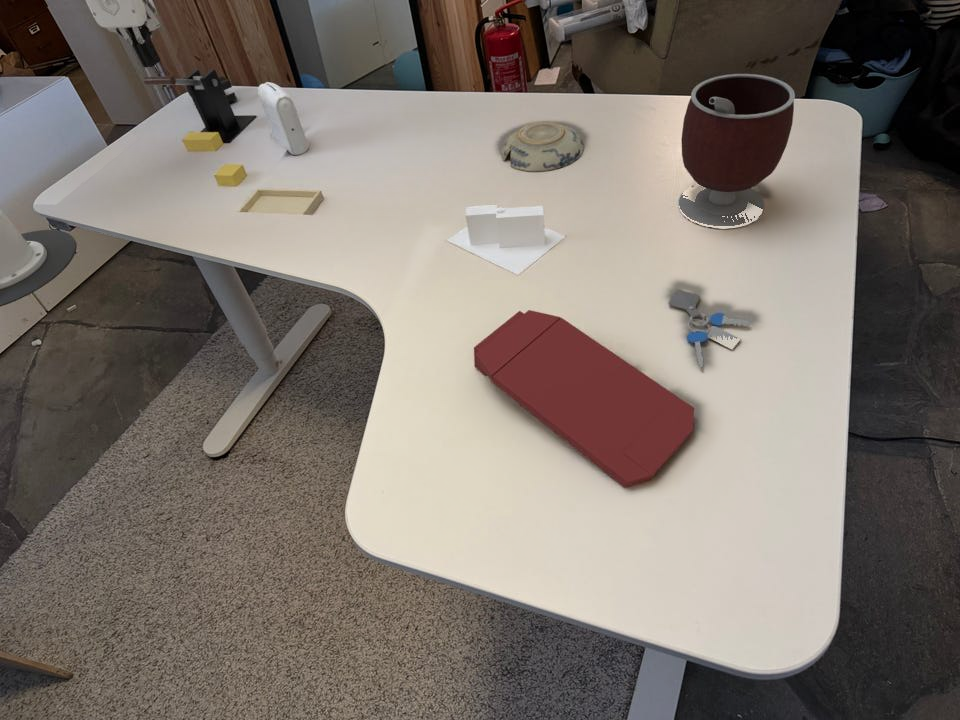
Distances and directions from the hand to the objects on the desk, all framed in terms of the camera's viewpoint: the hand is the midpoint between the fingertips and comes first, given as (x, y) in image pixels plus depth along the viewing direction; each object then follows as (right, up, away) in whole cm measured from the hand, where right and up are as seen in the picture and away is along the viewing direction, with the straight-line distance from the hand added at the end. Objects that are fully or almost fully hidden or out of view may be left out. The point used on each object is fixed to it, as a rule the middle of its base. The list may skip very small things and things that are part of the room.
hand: (152, 64), depth 111 cm
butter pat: (+14, -21, +4) cm, 25 cm away
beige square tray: (+25, -30, -6) cm, 39 cm away
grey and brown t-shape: (+2, -1, +8) cm, 8 cm away
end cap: (-2, +5, +32) cm, 32 cm away
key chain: (+89, -50, -36) cm, 109 cm away
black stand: (+5, -5, +21) cm, 22 cm away
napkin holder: (+64, -36, -18) cm, 76 cm away
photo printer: (+22, -11, +13) cm, 28 cm away
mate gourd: (+97, -32, -19) cm, 103 cm away
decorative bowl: (+72, -16, -1) cm, 74 cm away
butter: (+3, -11, +16) cm, 19 cm away
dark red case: (+72, -59, -41) cm, 102 cm away
